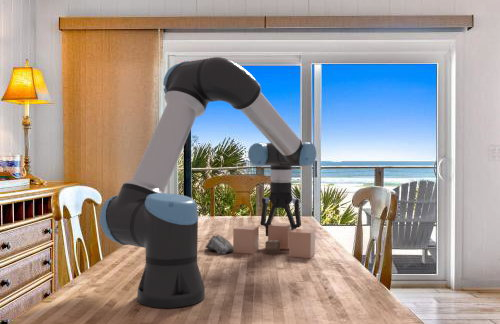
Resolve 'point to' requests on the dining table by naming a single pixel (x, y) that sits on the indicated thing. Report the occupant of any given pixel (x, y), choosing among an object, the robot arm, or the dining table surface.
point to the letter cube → (272, 247)
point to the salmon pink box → (301, 243)
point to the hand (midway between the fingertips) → (280, 246)
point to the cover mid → (279, 234)
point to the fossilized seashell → (219, 245)
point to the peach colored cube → (245, 239)
